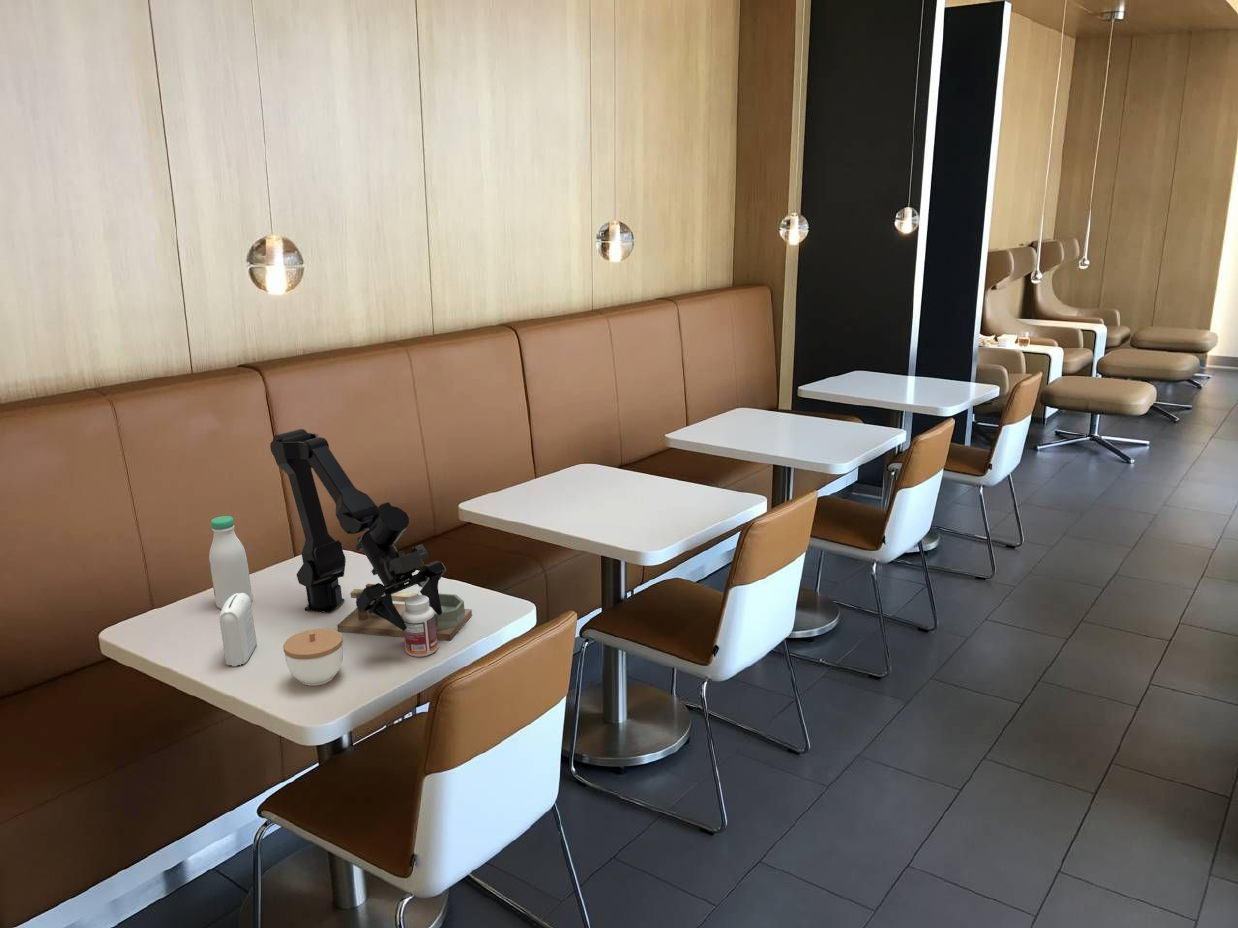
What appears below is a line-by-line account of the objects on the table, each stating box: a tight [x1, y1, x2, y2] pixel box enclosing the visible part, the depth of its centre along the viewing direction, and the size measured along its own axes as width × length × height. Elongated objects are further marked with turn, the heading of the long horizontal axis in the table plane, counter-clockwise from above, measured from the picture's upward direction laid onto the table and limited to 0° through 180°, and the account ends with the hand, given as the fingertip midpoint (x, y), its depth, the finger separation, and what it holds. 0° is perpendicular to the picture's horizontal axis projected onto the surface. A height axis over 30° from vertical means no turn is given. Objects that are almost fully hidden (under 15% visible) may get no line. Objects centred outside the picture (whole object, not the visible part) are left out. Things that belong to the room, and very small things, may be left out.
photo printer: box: [219, 593, 257, 667], centre depth 203 cm, size 10×4×12 cm, turn 5°
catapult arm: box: [349, 588, 466, 631], centre depth 215 cm, size 24×10×5 cm, turn 77°
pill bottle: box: [402, 594, 438, 658], centre depth 203 cm, size 6×6×11 cm
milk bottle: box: [208, 515, 253, 610], centre depth 226 cm, size 8×8×20 cm
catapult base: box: [336, 583, 473, 642], centre depth 215 cm, size 25×12×7 cm, turn 77°
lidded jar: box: [282, 628, 344, 687], centre depth 193 cm, size 11×11×9 cm
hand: (423, 621), depth 201 cm, fingers open, 8 cm apart
